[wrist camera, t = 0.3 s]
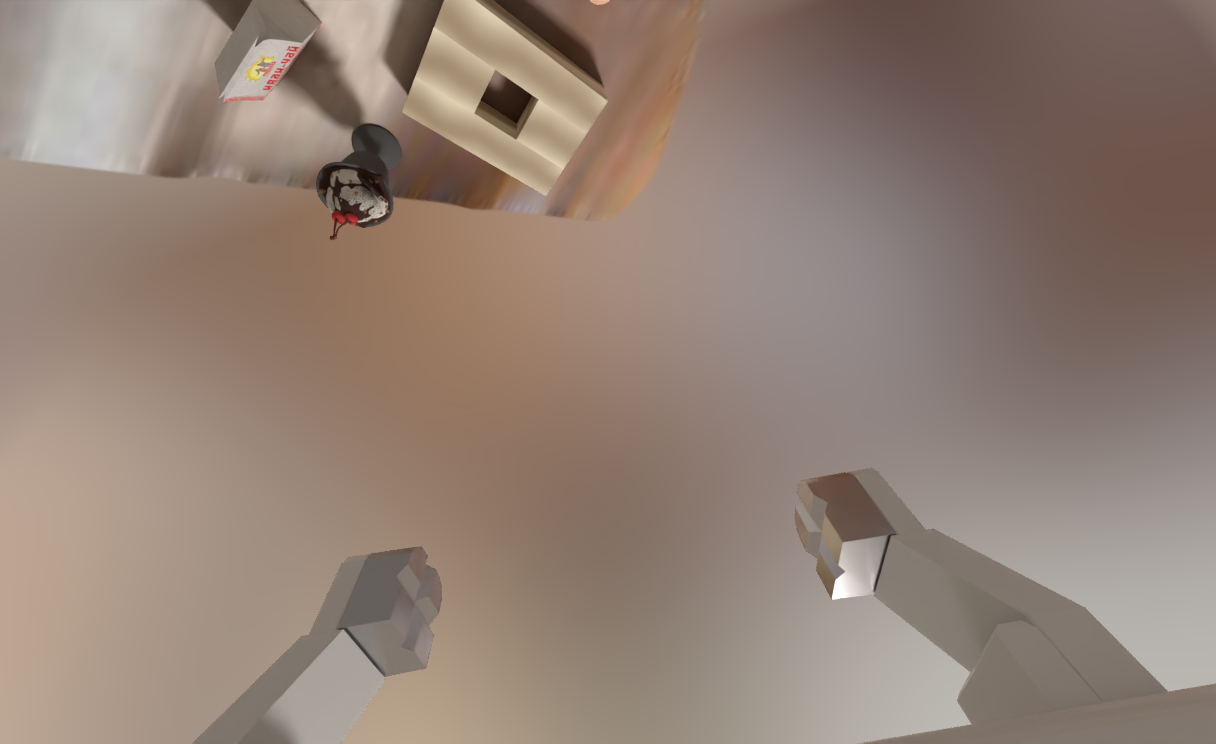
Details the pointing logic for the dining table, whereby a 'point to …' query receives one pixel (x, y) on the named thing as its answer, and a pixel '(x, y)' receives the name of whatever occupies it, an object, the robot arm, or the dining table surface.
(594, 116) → the hole block
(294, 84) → the dining table surface
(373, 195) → the sundae
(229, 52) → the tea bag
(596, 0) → the short dowel
